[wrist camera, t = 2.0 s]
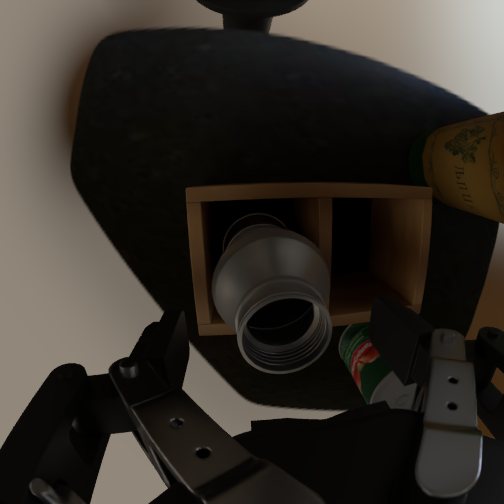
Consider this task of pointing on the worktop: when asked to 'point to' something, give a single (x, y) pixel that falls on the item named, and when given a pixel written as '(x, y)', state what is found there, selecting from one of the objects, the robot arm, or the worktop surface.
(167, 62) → the worktop surface
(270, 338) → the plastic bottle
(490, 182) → the bottle
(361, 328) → the canned tomato
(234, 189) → the bottle rack
